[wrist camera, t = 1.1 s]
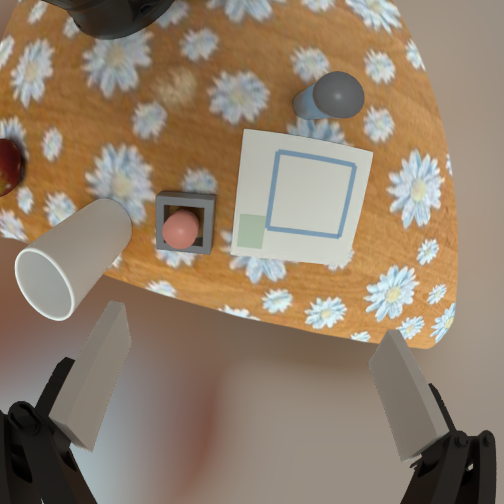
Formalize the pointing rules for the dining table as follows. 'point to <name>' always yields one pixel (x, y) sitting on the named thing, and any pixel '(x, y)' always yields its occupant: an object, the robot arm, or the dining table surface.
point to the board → (298, 198)
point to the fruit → (9, 166)
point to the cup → (72, 257)
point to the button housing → (192, 201)
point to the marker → (330, 98)
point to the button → (181, 229)
